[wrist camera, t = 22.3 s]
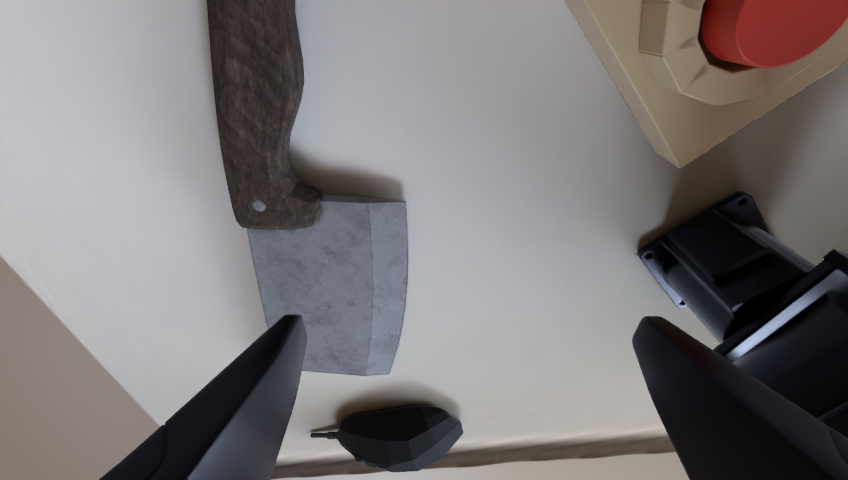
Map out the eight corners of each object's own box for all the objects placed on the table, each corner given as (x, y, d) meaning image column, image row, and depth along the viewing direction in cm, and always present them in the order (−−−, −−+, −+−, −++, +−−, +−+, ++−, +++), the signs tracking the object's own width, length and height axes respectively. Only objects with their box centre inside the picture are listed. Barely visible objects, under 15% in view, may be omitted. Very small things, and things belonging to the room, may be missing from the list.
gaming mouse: (299, 415, 33) (286, 461, 30) (456, 397, 32) (460, 444, 28) (322, 449, 37) (312, 493, 33) (465, 434, 35) (469, 479, 32)
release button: (827, 7, 13) (879, 8, 11) (720, 82, 14) (755, 92, 12) (801, -93, 11) (857, -107, 10) (685, 2, 12) (719, 2, 11)
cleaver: (161, -148, 13) (119, -171, 11) (431, -121, 13) (432, -139, 11) (284, 364, 29) (275, 387, 28) (402, 369, 30) (401, 392, 28)
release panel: (827, 37, 16) (931, 46, 13) (655, 153, 19) (704, 185, 16) (751, -241, 12) (880, -336, 8) (544, -32, 15) (579, -42, 11)
